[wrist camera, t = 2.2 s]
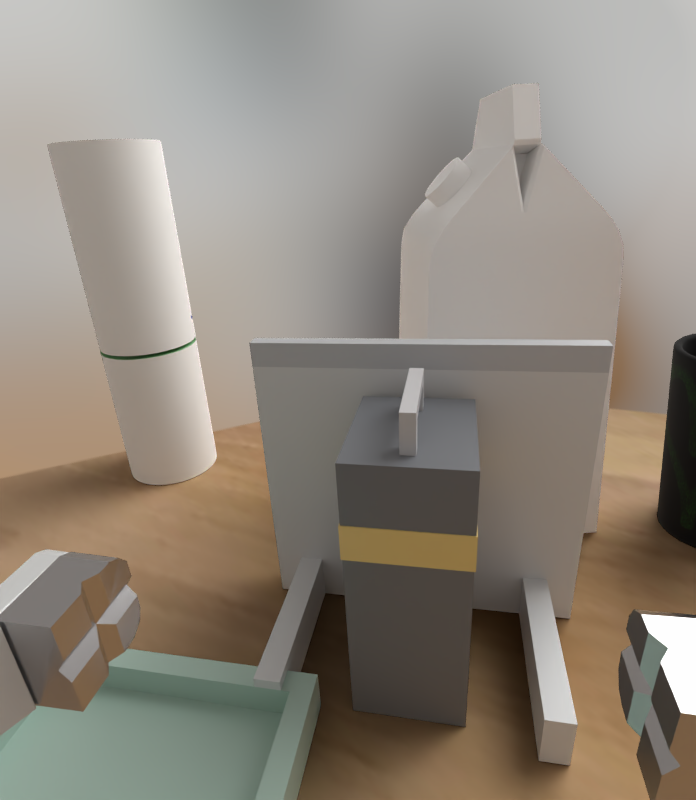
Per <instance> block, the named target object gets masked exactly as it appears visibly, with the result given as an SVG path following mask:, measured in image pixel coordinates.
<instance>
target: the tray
mask: <svg viewBox="0 0 696 800" xmlns="http://www.w3.org/2000/svg"><path fill="white" fill-rule="evenodd" d="M257 668H258V666H251V665H244V664H237V663H229V662H222V661H215V660H207V659H200V658H193V657H185V656H178V655H171V654H163V653H156V652H149V651H141V650H134V649H126V651H125V652H124V653H122V654H121V655H119V656H118V657H116V658H115V659H113V660H111V661H110V662H109V675H108V677H107V678H106V680H105V681H104V683H103V684H102V686H101V687H100V688H99V690H98V691H97V693H96V694H95V696H94V697H93V698H92V700H91V701H90V703H89V704H88V706H87V707H86V709H85V710H84V711H83V712H81V711H74V710H66V709H59V708H51V707H44V706H36V709H35V710H34V711H33V712H31V713H30V714H29V715H27V716H26V717H25V718H23V719H22V720H21V721H19V722H18V723H17V724H15V725H14V726H13V727H11V728H10V729H9V730H7V731H6V732H5V733H3V734H2V735H1V736H0V800H297V797H298V793H299V790H300V786H301V782H302V778H303V774H304V770H305V766H306V762H307V758H308V754H309V750H310V746H311V742H312V738H313V735H314V731H315V727H316V723H317V719H318V715H319V711H320V707H321V700H320V691H319V682H318V675H317V674H310V673H303V672H295V671H287V674H286V677H285V680H284V683H283V685H282V688H281V690H274V689H267V688H260V687H255V686H254V681H253V678H254V675H255V673H256V670H257Z"/></svg>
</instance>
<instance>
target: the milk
mask: <svg viewBox="0 0 696 800" xmlns="http://www.w3.org/2000/svg"><path fill="white" fill-rule="evenodd" d="M425 197H427V199H426V200H425V201H424V202H423V203H422V204H421V205H420V207H419V208H418V209H417V210H416V211H415V212H414V214H413V215H412V216H411V218H410V220H409V221H408V223H407V224H406V226H405V227H404V231H403V236H402V243H401V282H400V329H399V339H527V340H609V341H610V343H611V344H612V345H613V351H612V357H611V363H610V370H609V376H608V382H607V389H606V395H605V401H604V407H603V414H602V420H601V426H600V433H599V439H598V445H597V452H596V458H595V464H594V470H593V477H592V483H591V489H590V496H589V502H588V508H587V514H586V521H585V527H584V533H591V532H596V530H597V520H598V510H599V500H600V490H601V480H602V470H603V460H604V450H605V440H606V430H607V420H608V410H609V400H610V390H611V380H612V369H613V360H614V350H615V340H616V330H617V320H618V309H619V299H620V290H621V280H622V270H623V260H624V252H623V241H622V238H621V235H620V231H619V230H618V228H617V226H616V224H615V223H614V221H613V219H612V218H611V217H610V215H609V214H608V213H607V212H606V211H605V210H604V208H603V207H602V206H601V205H600V204H599V203H598V202H597V201H596V200H595V199H594V197H593V196H592V195H591V194H590V193H589V192H588V191H587V190H586V189H585V188H584V187H583V186H582V185H581V184H580V183H579V182H578V181H577V180H576V178H575V177H574V176H573V175H572V174H571V173H570V172H569V171H568V170H567V169H566V168H565V167H564V166H563V165H562V164H561V163H560V161H558V159H557V158H556V157H555V156H554V155H553V154H552V153H551V152H550V151H549V150H548V149H547V148H546V147H545V146H544V145H543V144H542V143H541V120H540V100H539V84H538V83H530V84H513V85H510V86H508V87H506V88H504V89H501V90H499V91H497V92H495V93H493V94H490V95H488V96H486V97H484V98H482V99H480V104H479V110H478V116H477V122H476V128H475V134H474V140H473V147H472V151H471V152H470V153H469V154H468V155H467V156H466V157H465V158H464V159H463V160H461V159H460V158H458V157H457V158H455V159H453V160H452V161H451V162H450V163H449V164H448V165H447V166H446V167H445V168H444V169H443V170H442V171H441V172H440V173H439V174H438V176H437V177H436V178H435V179H434V180H433V182H432V183H431V184H430V186H429V187H428V189H427V191H426V193H425Z"/></svg>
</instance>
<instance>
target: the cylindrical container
mask: <svg viewBox="0 0 696 800" xmlns="http://www.w3.org/2000/svg"><path fill="white" fill-rule="evenodd" d="M47 147H48V150H49V154H50V158H51V162H52V166H53V170H54V174H55V178H56V182H57V186H58V189H59V193H60V197H61V201H62V205H63V209H64V213H65V217H66V220H67V224H68V228H69V232H70V236H71V240H72V244H73V248H74V251H75V255H76V259H77V263H78V267H79V271H80V275H81V279H82V282H83V286H84V290H85V294H86V298H87V302H88V306H89V309H90V313H91V317H92V321H93V325H94V328H95V333H96V337H97V340H98V345H99V348H100V352H101V356H102V360H103V363H104V368H105V371H106V376H107V379H108V383H109V387H110V391H111V395H112V399H113V403H114V406H115V410H116V414H117V418H118V422H119V426H120V430H121V434H122V438H123V441H124V445H125V449H126V453H127V457H128V461H129V465H130V469H131V472H132V475H133V477H134V478H135V479H136V480H137V481H139V482H142V483H145V484H150V485H166V484H173V483H178V482H182V481H186V480H188V479H191V478H194V477H196V476H198V475H200V474H202V473H203V472H205V471H206V470H208V469H209V468H210V467H211V466H212V465H213V464H214V462H215V461H216V458H217V453H216V448H215V442H214V436H213V431H212V425H211V420H210V414H209V409H208V403H207V397H206V392H205V386H204V381H203V375H202V369H201V364H200V358H199V353H198V347H197V342H196V335H195V330H194V324H193V319H192V316H191V307H190V302H189V296H188V291H187V285H186V279H185V274H184V268H183V262H182V257H181V251H180V246H179V240H178V234H177V229H176V223H175V218H174V212H173V207H172V201H171V195H170V189H169V184H168V178H167V173H166V167H165V162H164V156H163V150H162V145H161V141H159V140H151V139H106V140H82V141H68V142H58V143H51V144H48V145H47Z"/></svg>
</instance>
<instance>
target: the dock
mask: <svg viewBox="0 0 696 800" xmlns="http://www.w3.org/2000/svg"><path fill="white" fill-rule="evenodd" d="M249 344H250V351H251V359H252V366H253V373H254V381H255V388H256V394H257V403H258V410H259V418H260V425H261V432H262V440H263V447H264V454H265V462H266V469H267V477H268V484H269V491H270V499H271V506H272V513H273V521H274V528H275V535H276V543H277V550H278V558H279V565H280V572H281V580H282V587H283V589H289V590H288V593H287V595H286V598H285V600H284V603H283V605H282V608H281V610H280V613H279V615H278V618H277V620H276V623H275V625H274V628H273V630H272V633H271V635H270V638H269V640H268V643H267V645H266V648H265V650H264V653H263V655H262V658H261V660H260V663H259V665H258V668H257V670H256V673H255V675H254V678H253V681H254V686H255V687H260V688H267V689H274V690H281V688H282V685H283V683H284V680H285V677H286V674H287V671H295V672H301V670H302V667H303V663H304V660H305V657H306V654H307V651H308V647H309V644H310V641H311V638H312V634H313V631H314V628H315V625H316V622H317V618H318V615H319V612H320V609H321V606H322V602H323V599H324V596H325V593H329V594H339V595H345V593H344V579H343V565H342V560H341V559H340V546H339V532H338V525H339V510H338V496H337V482H336V469H335V462H336V460H337V458H338V455H339V453H340V450H341V448H342V445H343V443H344V441H345V438H346V436H347V433H348V431H349V429H350V426H351V424H352V421H353V419H354V416H355V414H356V412H357V409H358V407H359V404H360V402H361V399H362V397H363V396H384V397H403V393H404V389H405V385H406V381H407V376H408V372H409V368H424V398H454V399H475V402H476V417H477V431H478V446H479V460H480V485H479V502H478V519H477V527H478V546H477V563H476V572H474V589H473V606H472V608H473V609H482V610H492V611H501V612H511V613H519V617H520V625H521V632H522V640H523V647H524V655H525V662H526V670H527V677H528V685H529V692H530V700H531V707H532V715H533V722H534V730H535V737H536V745H537V752H538V760H539V761H543V762H550V763H556V764H562V765H569V766H570V762H571V757H572V752H573V746H574V741H575V736H576V730H577V725H578V724H577V720H576V715H575V710H574V705H573V701H572V696H571V691H570V687H569V682H568V677H567V672H566V668H565V663H564V658H563V653H562V649H561V644H560V639H559V634H558V630H557V625H556V620H555V617H559V618H569V619H570V615H571V609H572V603H573V596H574V590H575V584H576V577H577V571H578V565H579V559H580V552H581V546H582V540H583V533H584V527H585V521H586V514H587V508H588V502H589V496H590V489H591V483H592V477H593V470H594V464H595V458H596V452H597V445H598V439H599V433H600V426H601V420H602V414H603V407H604V401H605V395H606V389H607V382H608V376H609V370H610V363H611V357H612V351H613V345H612V344H611V343H610V341H609V340H527V339H355V338H349V339H348V338H347V339H346V338H255V339H253V340H252V341H251V342H250V343H249Z"/></svg>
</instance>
